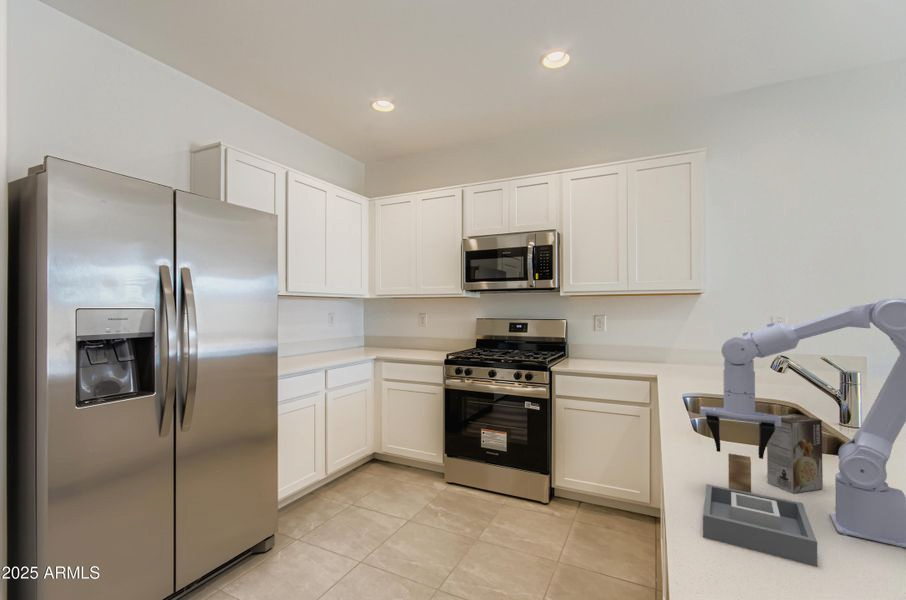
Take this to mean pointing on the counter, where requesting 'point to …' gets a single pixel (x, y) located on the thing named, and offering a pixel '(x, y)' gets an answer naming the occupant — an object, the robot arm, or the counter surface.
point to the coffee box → (796, 454)
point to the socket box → (759, 523)
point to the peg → (739, 472)
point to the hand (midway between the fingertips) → (739, 453)
